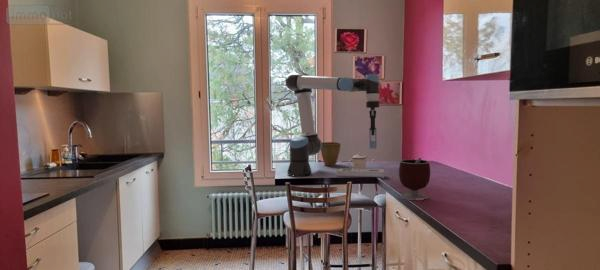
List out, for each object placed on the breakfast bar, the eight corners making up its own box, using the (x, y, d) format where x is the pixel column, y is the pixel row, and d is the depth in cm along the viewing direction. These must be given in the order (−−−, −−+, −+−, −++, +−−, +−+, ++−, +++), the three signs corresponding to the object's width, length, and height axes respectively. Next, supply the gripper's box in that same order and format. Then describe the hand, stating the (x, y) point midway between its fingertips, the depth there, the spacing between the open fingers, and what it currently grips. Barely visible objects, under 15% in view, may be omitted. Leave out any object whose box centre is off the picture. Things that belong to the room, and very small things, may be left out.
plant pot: (323, 167, 261) (323, 144, 260) (317, 164, 275) (317, 142, 274) (343, 166, 265) (343, 143, 263) (336, 163, 279) (336, 141, 278)
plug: (369, 148, 221) (369, 125, 220) (369, 147, 225) (369, 125, 224) (376, 148, 220) (376, 125, 219) (376, 147, 224) (376, 125, 223)
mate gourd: (395, 194, 182) (395, 153, 180) (424, 193, 182) (424, 152, 180) (404, 202, 166) (404, 158, 165) (435, 202, 166) (436, 157, 165)
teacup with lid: (363, 169, 252) (363, 151, 251) (368, 171, 243) (368, 153, 242) (346, 169, 250) (346, 152, 249) (350, 172, 241) (350, 154, 240)
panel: (336, 177, 224) (336, 170, 224) (337, 174, 233) (337, 168, 233) (384, 178, 219) (384, 171, 218) (383, 175, 228) (383, 169, 227)
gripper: (379, 100, 211) (379, 141, 213) (379, 100, 228) (379, 139, 230) (365, 100, 213) (366, 141, 215) (366, 101, 230) (367, 139, 232)
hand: (373, 140), depth 222 cm, fingers closed on plug, 4 cm apart
